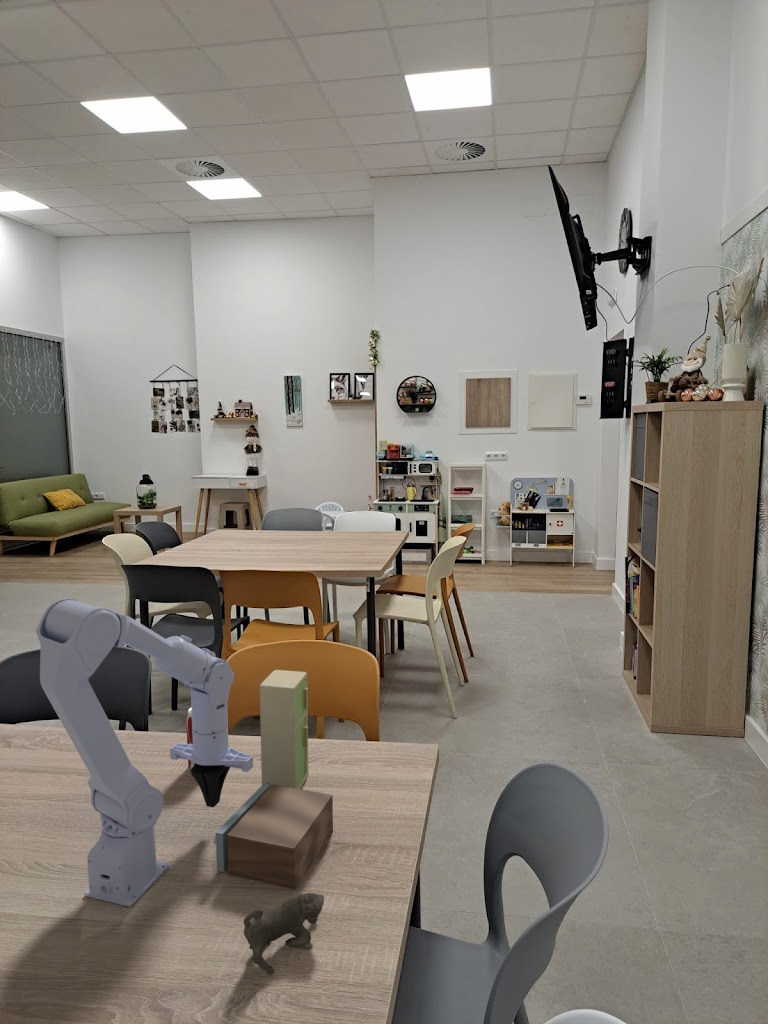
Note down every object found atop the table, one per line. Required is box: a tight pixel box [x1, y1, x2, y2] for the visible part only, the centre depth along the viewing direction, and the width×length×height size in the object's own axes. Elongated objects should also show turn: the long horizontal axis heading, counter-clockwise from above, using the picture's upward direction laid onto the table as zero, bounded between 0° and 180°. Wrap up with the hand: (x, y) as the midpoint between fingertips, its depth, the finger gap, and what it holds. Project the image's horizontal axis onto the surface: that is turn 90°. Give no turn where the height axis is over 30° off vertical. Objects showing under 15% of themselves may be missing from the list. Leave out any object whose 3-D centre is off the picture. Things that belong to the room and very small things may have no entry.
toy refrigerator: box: [259, 669, 309, 789], centre depth 128 cm, size 8×7×21 cm
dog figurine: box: [243, 892, 325, 976], centre depth 90 cm, size 12×6×7 cm, turn 127°
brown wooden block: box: [227, 784, 334, 890], centre depth 109 cm, size 15×11×6 cm
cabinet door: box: [213, 782, 271, 873], centre depth 111 cm, size 16×2×6 cm, turn 161°
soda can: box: [185, 707, 195, 772], centre depth 135 cm, size 5×5×12 cm
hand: (213, 803), depth 115 cm, fingers closed
